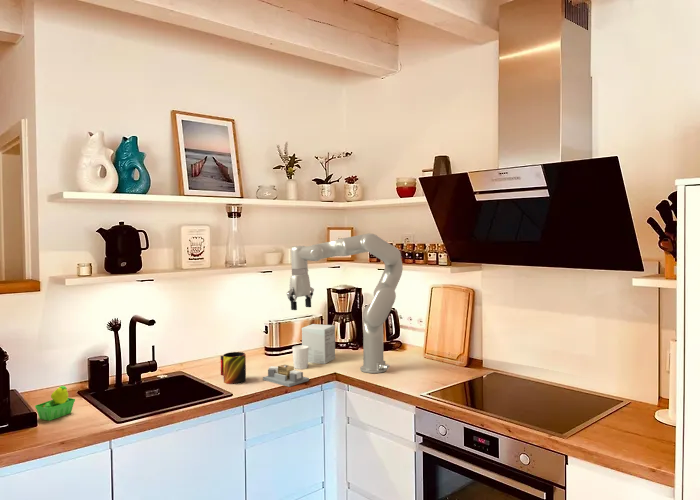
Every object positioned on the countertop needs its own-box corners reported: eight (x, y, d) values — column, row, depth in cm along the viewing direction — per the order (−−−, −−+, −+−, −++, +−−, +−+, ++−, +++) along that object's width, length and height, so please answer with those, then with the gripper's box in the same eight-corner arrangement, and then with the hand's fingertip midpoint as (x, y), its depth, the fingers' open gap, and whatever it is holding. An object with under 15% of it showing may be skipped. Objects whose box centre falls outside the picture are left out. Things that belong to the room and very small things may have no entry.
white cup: (307, 369, 256) (307, 348, 255) (291, 369, 256) (291, 348, 255) (309, 365, 264) (309, 345, 263) (293, 365, 264) (293, 345, 263)
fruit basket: (61, 409, 200) (60, 380, 200) (79, 412, 197) (78, 382, 197) (33, 420, 190) (32, 388, 189) (51, 423, 187) (51, 391, 186)
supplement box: (335, 358, 277) (335, 325, 277) (325, 364, 265) (324, 329, 265) (313, 356, 282) (312, 323, 282) (301, 362, 270) (301, 327, 270)
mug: (221, 377, 244) (221, 351, 243) (249, 378, 240) (249, 352, 240) (211, 383, 234) (210, 356, 234) (240, 385, 231) (239, 357, 230)
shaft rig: (308, 380, 236) (308, 369, 236) (289, 386, 227) (288, 375, 227) (281, 373, 248) (281, 363, 248) (261, 379, 239) (261, 368, 239)
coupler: (278, 377, 238) (277, 365, 238) (284, 375, 241) (284, 363, 241) (287, 379, 234) (287, 367, 234) (293, 377, 237) (293, 365, 237)
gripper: (306, 270, 258) (308, 305, 259) (280, 273, 245) (282, 310, 246) (318, 270, 254) (319, 306, 254) (292, 274, 240) (294, 311, 241)
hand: (301, 308), depth 250 cm, fingers open, 9 cm apart
